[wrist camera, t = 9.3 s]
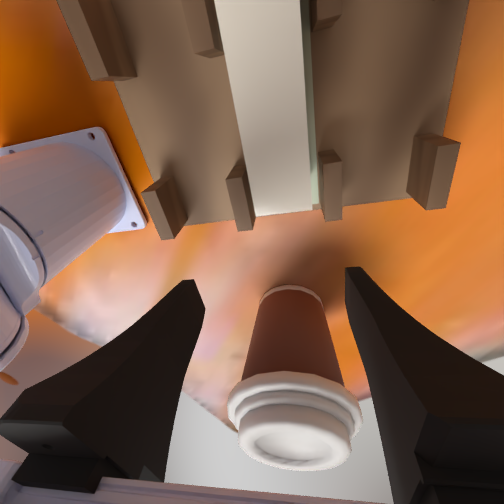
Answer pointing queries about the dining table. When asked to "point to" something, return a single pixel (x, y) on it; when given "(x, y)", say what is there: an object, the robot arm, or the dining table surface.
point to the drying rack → (317, 101)
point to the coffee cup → (293, 387)
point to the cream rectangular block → (269, 99)
